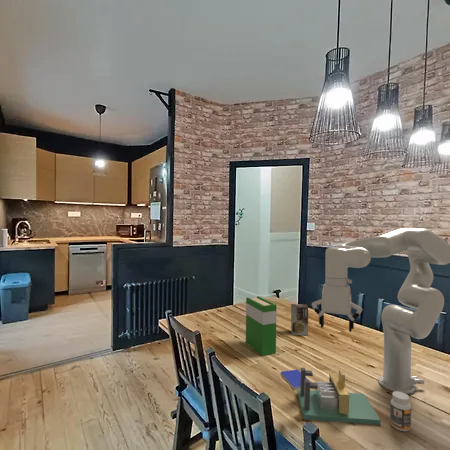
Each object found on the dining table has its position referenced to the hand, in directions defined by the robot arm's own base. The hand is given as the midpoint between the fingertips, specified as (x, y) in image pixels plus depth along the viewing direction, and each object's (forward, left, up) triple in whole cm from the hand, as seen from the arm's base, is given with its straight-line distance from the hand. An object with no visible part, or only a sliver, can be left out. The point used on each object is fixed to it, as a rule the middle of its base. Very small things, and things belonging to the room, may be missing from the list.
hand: (336, 328), depth 111 cm
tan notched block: (0, +5, -24) cm, 24 cm away
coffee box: (+3, -65, -26) cm, 70 cm away
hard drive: (+12, -12, -27) cm, 32 cm away
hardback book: (+26, -42, -26) cm, 56 cm away
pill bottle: (-17, +13, -26) cm, 34 cm away
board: (+1, +6, -26) cm, 26 cm away
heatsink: (+3, +5, -24) cm, 25 cm away
